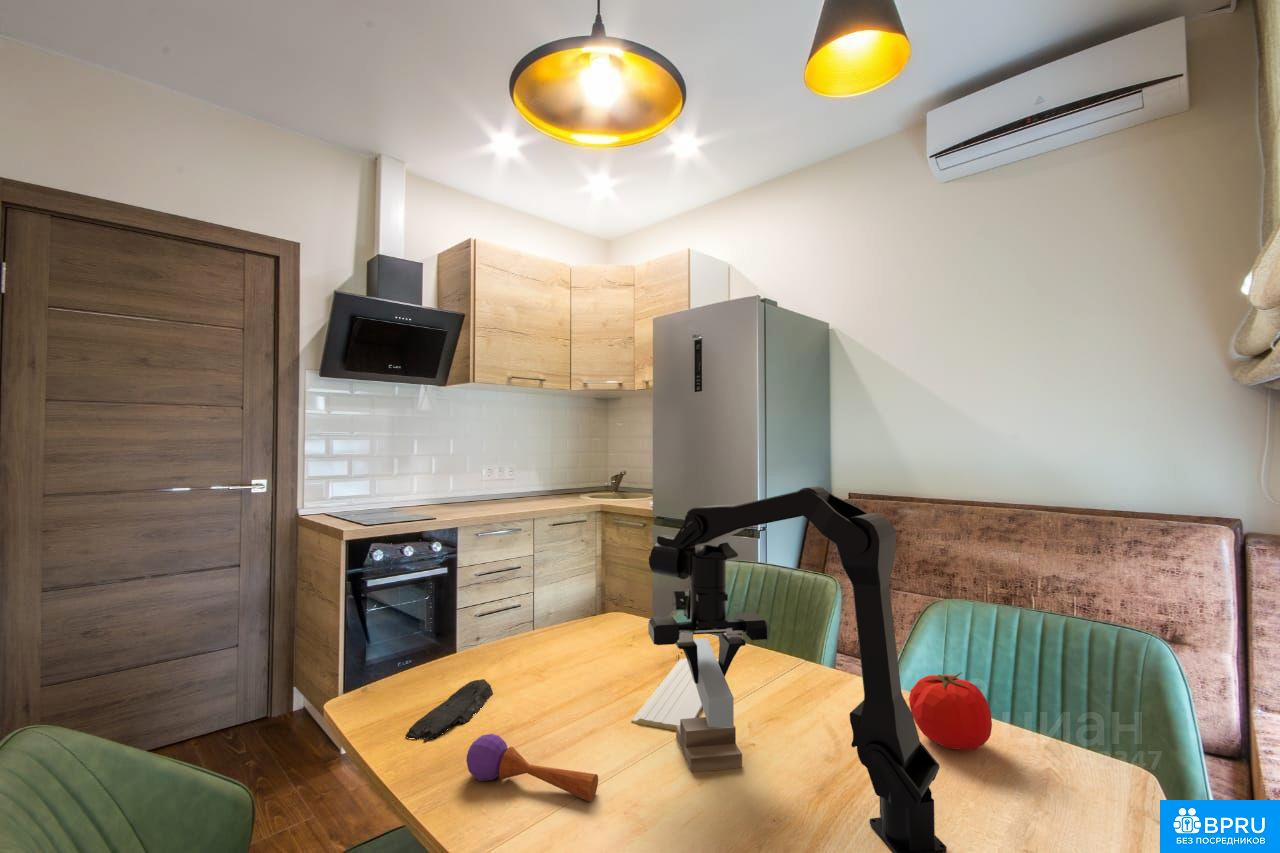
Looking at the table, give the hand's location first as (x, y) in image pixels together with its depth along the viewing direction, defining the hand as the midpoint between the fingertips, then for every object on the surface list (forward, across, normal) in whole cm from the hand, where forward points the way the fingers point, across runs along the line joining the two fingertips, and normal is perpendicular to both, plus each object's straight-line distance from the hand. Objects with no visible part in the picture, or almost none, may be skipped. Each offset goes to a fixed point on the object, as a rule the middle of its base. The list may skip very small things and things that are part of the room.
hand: (708, 681), depth 89 cm
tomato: (+11, -40, +4) cm, 42 cm away
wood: (+12, +42, -20) cm, 48 cm away
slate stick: (+1, 0, 0) cm, 1 cm away
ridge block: (+11, 0, 0) cm, 11 cm away
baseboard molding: (+12, -1, -23) cm, 26 cm away
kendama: (+12, +28, +4) cm, 31 cm away
